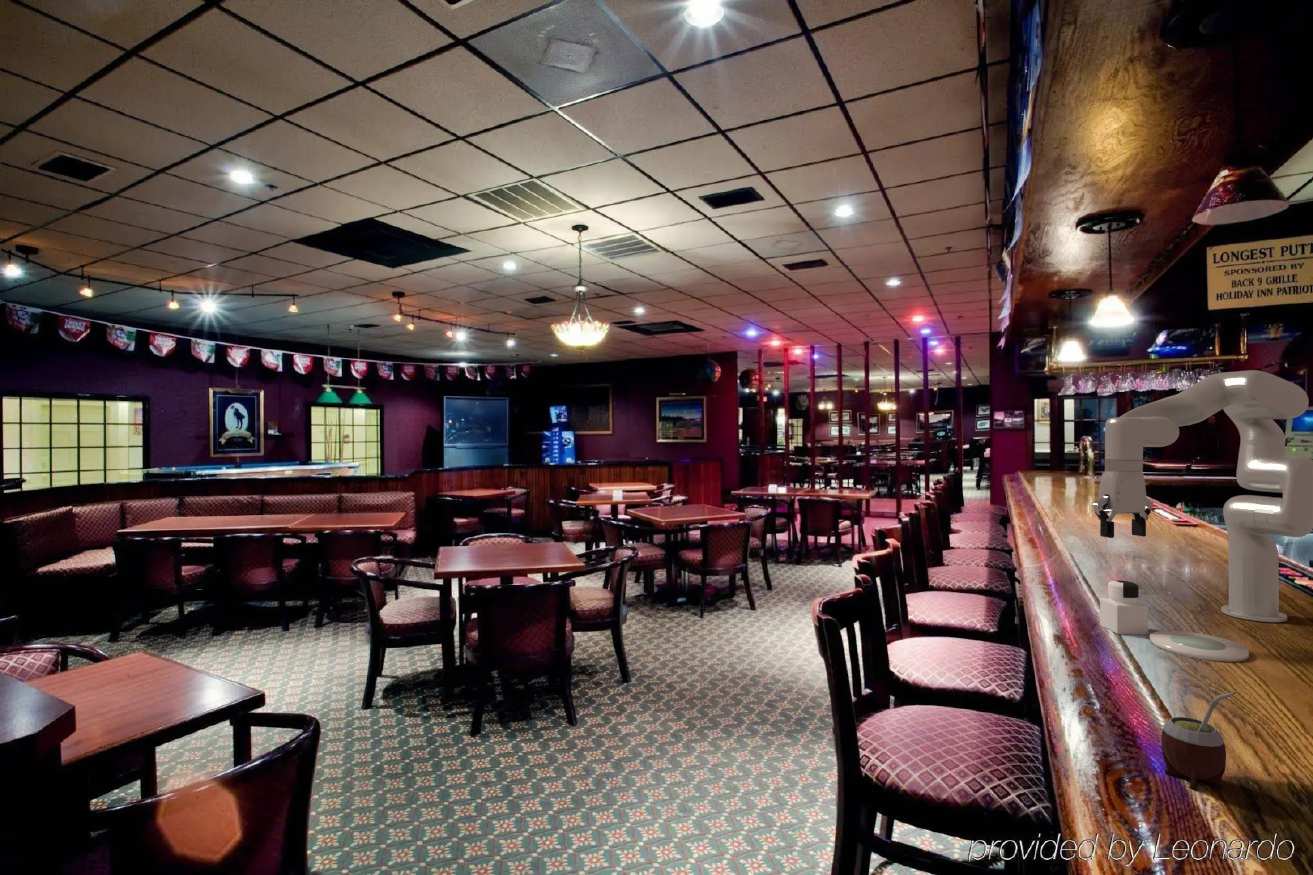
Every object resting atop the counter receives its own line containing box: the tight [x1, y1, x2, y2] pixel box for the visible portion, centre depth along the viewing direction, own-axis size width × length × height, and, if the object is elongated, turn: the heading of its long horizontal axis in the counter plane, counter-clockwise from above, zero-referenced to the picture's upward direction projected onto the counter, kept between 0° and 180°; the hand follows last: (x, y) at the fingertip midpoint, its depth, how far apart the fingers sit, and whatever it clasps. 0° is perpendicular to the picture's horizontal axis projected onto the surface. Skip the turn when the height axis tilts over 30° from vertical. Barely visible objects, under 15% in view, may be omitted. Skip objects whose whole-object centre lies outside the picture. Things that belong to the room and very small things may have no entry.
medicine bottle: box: [1099, 579, 1149, 636], centre depth 156 cm, size 7×7×12 cm
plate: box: [1149, 630, 1250, 663], centre depth 143 cm, size 17×17×1 cm
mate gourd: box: [1161, 691, 1237, 792], centre depth 89 cm, size 8×8×15 cm
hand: (1123, 536), depth 155 cm, fingers open, 9 cm apart
